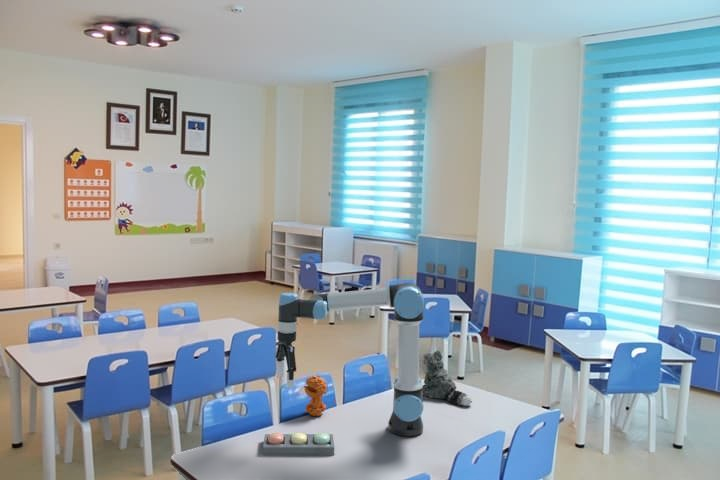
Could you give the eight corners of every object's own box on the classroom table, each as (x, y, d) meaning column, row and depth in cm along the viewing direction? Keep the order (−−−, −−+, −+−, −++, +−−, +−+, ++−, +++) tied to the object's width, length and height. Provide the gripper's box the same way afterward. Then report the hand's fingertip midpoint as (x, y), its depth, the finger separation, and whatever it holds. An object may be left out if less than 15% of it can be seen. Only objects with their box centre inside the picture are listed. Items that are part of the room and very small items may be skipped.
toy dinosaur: (302, 408, 271) (304, 370, 270) (326, 409, 272) (327, 371, 271) (302, 418, 260) (303, 378, 259) (327, 418, 261) (328, 379, 260)
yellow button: (306, 446, 227) (306, 439, 227) (291, 446, 227) (291, 439, 227) (306, 439, 233) (306, 433, 233) (291, 439, 233) (291, 433, 233)
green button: (329, 446, 228) (330, 439, 228) (314, 446, 228) (314, 439, 228) (329, 439, 234) (329, 433, 234) (314, 439, 234) (314, 433, 234)
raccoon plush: (426, 385, 312) (428, 346, 310) (481, 399, 294) (483, 358, 292) (411, 392, 300) (413, 352, 298) (468, 408, 282) (471, 365, 280)
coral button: (283, 446, 227) (283, 439, 226) (267, 446, 226) (267, 439, 226) (283, 439, 233) (283, 433, 232) (268, 439, 232) (268, 433, 232)
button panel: (334, 454, 226) (334, 447, 226) (262, 454, 223) (262, 447, 223) (332, 441, 238) (332, 434, 237) (264, 441, 235) (264, 434, 235)
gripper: (305, 338, 230) (303, 390, 232) (286, 323, 252) (284, 371, 254) (287, 339, 227) (285, 392, 229) (269, 324, 249) (267, 373, 251)
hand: (284, 381), depth 241 cm, fingers open, 13 cm apart
